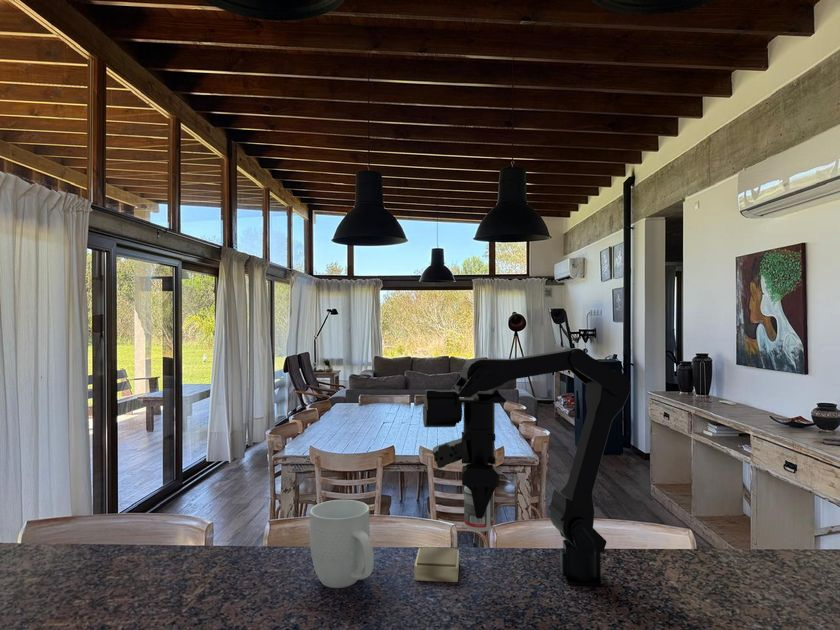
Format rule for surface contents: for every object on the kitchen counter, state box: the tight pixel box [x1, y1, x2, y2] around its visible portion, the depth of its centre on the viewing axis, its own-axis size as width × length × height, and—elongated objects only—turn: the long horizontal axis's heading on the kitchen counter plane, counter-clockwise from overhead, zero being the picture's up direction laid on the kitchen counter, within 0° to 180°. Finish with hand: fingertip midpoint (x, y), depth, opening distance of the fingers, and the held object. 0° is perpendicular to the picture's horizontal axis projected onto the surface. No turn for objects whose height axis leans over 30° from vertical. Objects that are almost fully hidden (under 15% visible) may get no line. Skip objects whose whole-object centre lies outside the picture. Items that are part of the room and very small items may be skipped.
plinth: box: [413, 546, 460, 583], centre depth 98 cm, size 8×8×3 cm
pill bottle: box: [463, 486, 495, 532], centre depth 94 cm, size 5×5×10 cm
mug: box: [309, 499, 375, 589], centre depth 94 cm, size 15×11×13 cm
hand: (478, 512), depth 94 cm, fingers closed on pill bottle, 5 cm apart
